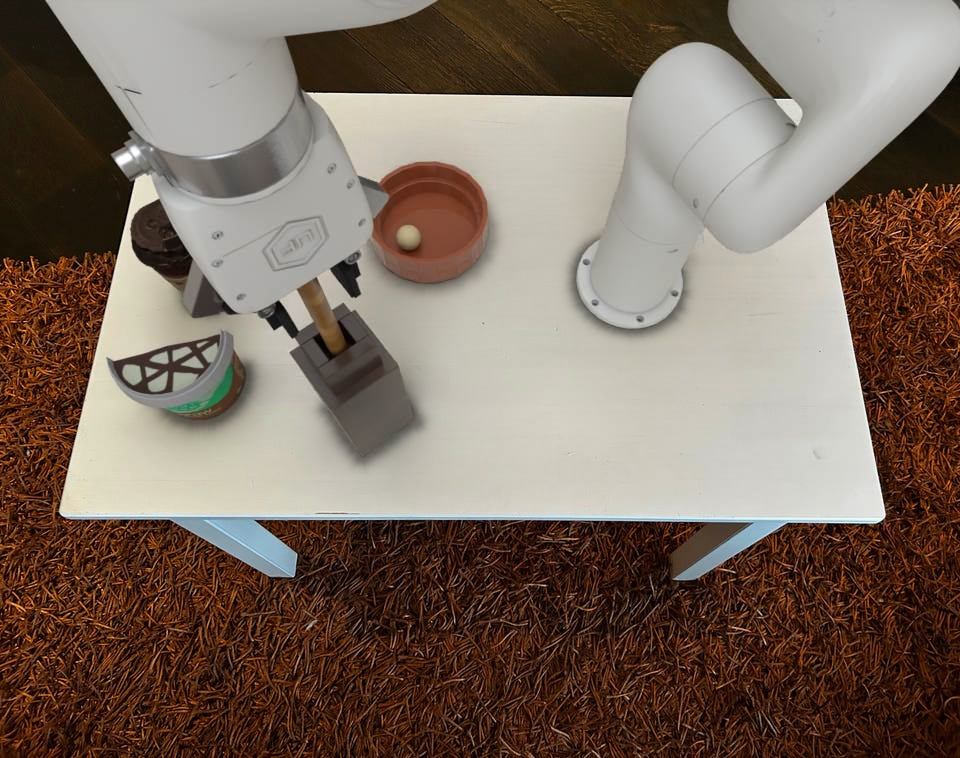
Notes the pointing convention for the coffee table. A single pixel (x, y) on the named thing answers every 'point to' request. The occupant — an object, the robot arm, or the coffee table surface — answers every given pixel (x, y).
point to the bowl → (431, 221)
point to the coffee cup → (160, 244)
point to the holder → (356, 381)
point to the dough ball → (408, 237)
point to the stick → (323, 316)
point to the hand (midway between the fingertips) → (315, 301)
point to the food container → (184, 377)
